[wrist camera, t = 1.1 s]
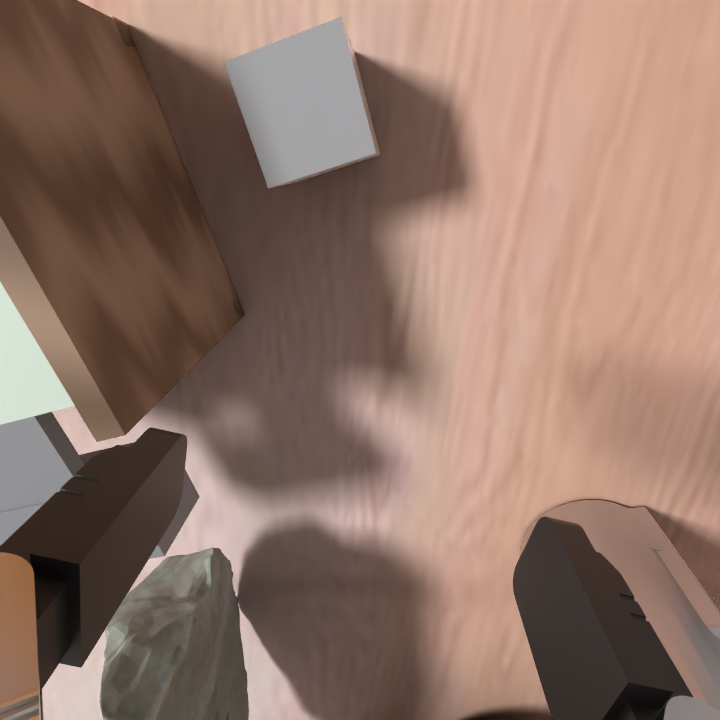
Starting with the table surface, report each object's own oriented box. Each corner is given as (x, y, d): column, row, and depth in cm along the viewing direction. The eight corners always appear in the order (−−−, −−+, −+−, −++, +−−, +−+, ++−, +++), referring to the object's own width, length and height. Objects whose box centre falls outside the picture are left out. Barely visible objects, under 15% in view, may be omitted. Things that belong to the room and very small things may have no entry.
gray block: (354, 51, 23) (340, 17, 18) (380, 155, 25) (375, 153, 19) (263, 84, 24) (223, 62, 18) (295, 182, 26) (268, 188, 20)
